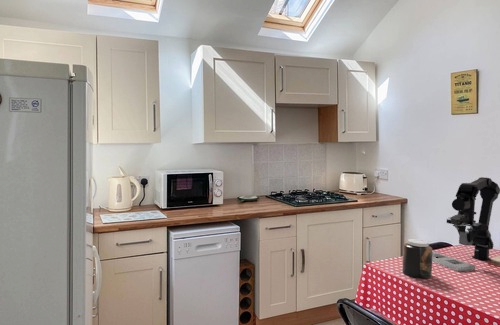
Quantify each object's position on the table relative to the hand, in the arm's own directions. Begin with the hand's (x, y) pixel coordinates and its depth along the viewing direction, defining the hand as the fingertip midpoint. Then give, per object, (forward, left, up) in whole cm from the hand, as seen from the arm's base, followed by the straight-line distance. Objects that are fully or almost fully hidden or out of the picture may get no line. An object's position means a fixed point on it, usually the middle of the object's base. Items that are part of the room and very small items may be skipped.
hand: (465, 241), depth 175 cm
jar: (+33, +5, -12) cm, 36 cm away
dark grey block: (0, 0, -2) cm, 2 cm away
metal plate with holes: (+6, -5, -12) cm, 14 cm away
